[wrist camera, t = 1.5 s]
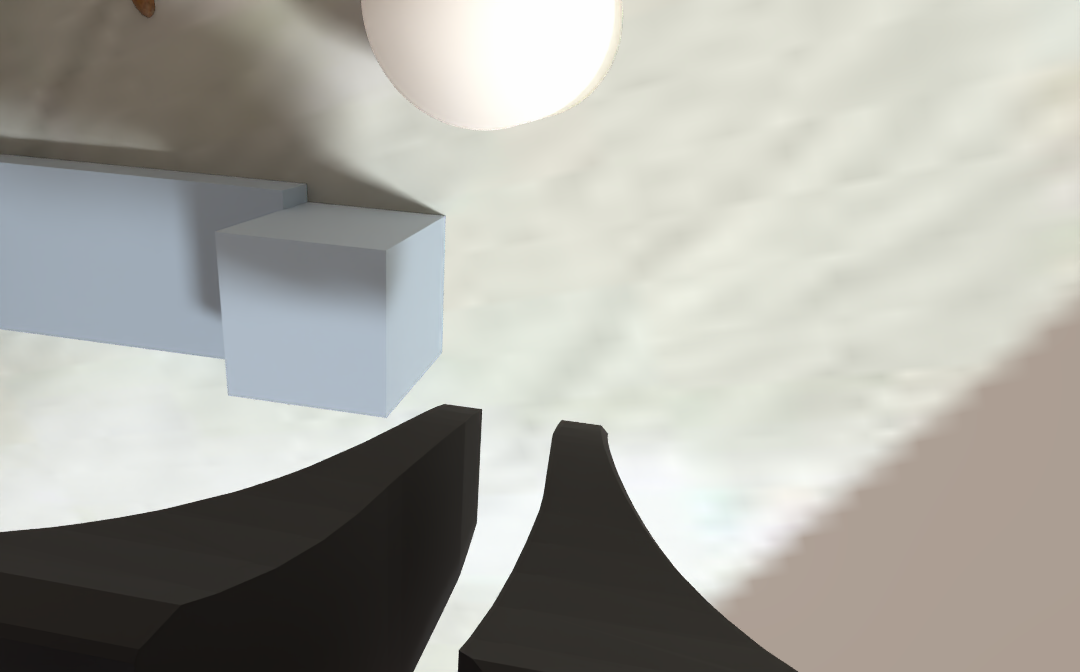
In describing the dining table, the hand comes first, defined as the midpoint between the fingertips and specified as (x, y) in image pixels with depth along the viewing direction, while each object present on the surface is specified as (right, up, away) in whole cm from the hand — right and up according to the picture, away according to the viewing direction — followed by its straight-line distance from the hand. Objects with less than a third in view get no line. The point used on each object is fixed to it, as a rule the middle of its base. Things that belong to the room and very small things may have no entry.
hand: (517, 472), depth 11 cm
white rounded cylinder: (0, +10, +7) cm, 12 cm away
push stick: (-10, +5, +10) cm, 15 cm away
